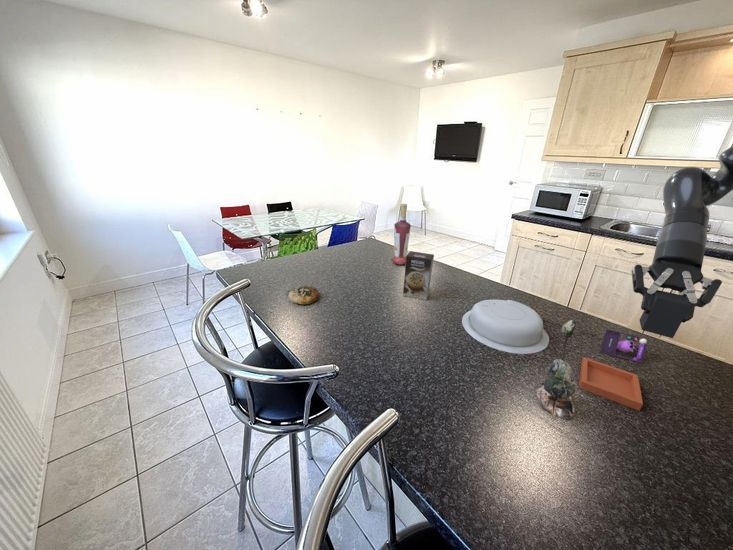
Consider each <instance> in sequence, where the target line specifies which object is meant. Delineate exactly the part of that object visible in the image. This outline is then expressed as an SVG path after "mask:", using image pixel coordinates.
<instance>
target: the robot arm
mask: <svg viewBox="0 0 733 550" xmlns="http://www.w3.org/2000/svg"><path fill="white" fill-rule="evenodd" d="M718 163H719V165H720V168H719V169H718V170H716V172H714V174H712V175H710V174H709V173H708V172H707V171H706V170H705V169H703V168H700V167H696V166H688V167H683V168H680V169H678V170H676V171H675V172H673V173H672V174H671V175H670V176H669V177H668V178H667V180H666V181H665V183H664V185H663V190H662V198H663V199H662V200H663V208H664V218H663V222H662V228H661V231H660V233H659V234H658V238H657V241H656V243H655V249H654V254H653V258H652V262H651V265H649V266H642V265H641V264H636V265H634V266H633V268H632V269H631V279H632V289H633V292H634V293H636V294H640V295H641V296H642V301H641V304H640V309H641V310H642V311H644V313H647V314H648V313H649V312H650V311H651V309H652V305H653V300H654V296H655V295H653V294H654V293H655V292H656V290H659V289H660V288H662V289H670V290H672V291H675V292H677V294H678V295H683V296H686V298H687V300H688V301H689V303H690V305H691V306H690V308H689V310H688V311H687V313H686V315H685V317H684V319H683V321H682V322H681V323H683V324H684V323H686V322H689V321H691V320H692V319H693V318H694V314H695V310H696V307H698V308H704V307H706V305H708V304H710V303H711V302H712V300H713V298H714V297H715V295H716V293H717V292H718V291H719V289H720V287H721V285H722V284H723V281H722V280H721V279H719V278H715V279H710V278H708V277H705V276H704V274H703V273H702V268H703V263H704V257H705V252H706V248H707V242H708V227H709V222H710V210H709V208H708V207H709V206H712V205H713V204H715V203H717V202H718V201H720V200H722V199H723V198H724V197H726V196H727V195H728V194H730V193H731V192H732V191H733V145H732V146H730V147H728V148H726V149H725V150H724V151H722V152H721V153H720V154H719V156H718ZM647 273H648V276H650V277H651V279H652V280H653V282H652V284H651V285H650V286H649V287H646V286H645V279H644V277H645V276H646V275H647ZM698 283H699V284H700V285H701V288H702V290H703V291H702V293H701V294H700V295H699V298H697V295H696V288H695V285H696V284H698Z"/></svg>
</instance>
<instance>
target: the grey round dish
mask: <svg viewBox="0 0 733 550" xmlns="http://www.w3.org/2000/svg"><path fill="white" fill-rule="evenodd" d="M461 325H462V327H463V329H464V330H465V332H466V333H467V334H468V335H469V336H470V337H472V338H473V339H475V340H476V341H477V342H479V343H481V344H483V345H485V346H487V347H489V348H492V349H494V350H498V351H500V352H505V353H509V354H518V355H531V354H536V353H539V352H542V351H543V350H546V349H547V347H548V345H549V343H550V337H549V334H548V333H547V331H546V330H545V329H544V321H543V319H542V317H541V316H540V315H539V313H538V312H536V311H535V310H534V309H533V308H531V307H530V306H528V305H526V304H523V303H521V302H519V301H516V300H512V299H506V300H505V299H485V300H481V301H478V302H477V303H475V304H474V305H473V306H472V308H471V309H469V310H468V311H467V312H465V313H464V314H463V316H462V318H461Z"/></svg>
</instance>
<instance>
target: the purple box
mask: <svg viewBox="0 0 733 550" xmlns="http://www.w3.org/2000/svg"><path fill="white" fill-rule="evenodd" d="M621 335H624V336H625V337H624V338H625V340H623V339H621V340H620V338H621ZM649 340H650V339H649V338H647V337H643V336H640V335H634V334H631V333H626V332H622V331H619V330H618V331H617V330H613V329H609V328H606V329H605V332H604V336H603V339H602V342H601V346H600V350H599V352H600V353H602V354H606V355H609V356H613V357H617V358H621V359H624V360H628V361H632V362H635V363H639V364H641V363H642V362H643V359H644V356H645V353H646V350H647V347H648V343H649ZM634 342H635V343H634ZM638 342H639V347H638V349H637V348H636V347H635V346H638V344H636V343H638ZM634 350H636V351H637V350H638V351H637V354H636V356H634V357H633V358H630V357H626V356H622V355H619V354H616V351H620V352H623V353H630V352H631V353H632V352H634Z"/></svg>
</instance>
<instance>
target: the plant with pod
mask: <svg viewBox="0 0 733 550" xmlns="http://www.w3.org/2000/svg"><path fill="white" fill-rule="evenodd" d="M576 324H577V323H576V320H574V319H569V320H568V321H567V322H566V323H564V324H562V326H561V334H562V336H563V337H564V344H563V350H562V356H561V358H558V359H557V358H555V359H554V360H553V361H552V363H551V364H550V367H549V369H548V371H547V375H546V379H545V381H544V382H543V383H541V384H540V385H539V387H538V388H536V390H535V392H534V394H535V396H536V399H537V401H538V402H539V406H540V407H541V408H542V409H543V410H544V411H546V412H548V413H550V414H551V415H552V417H556V416H557V417H560V419H561V418H562V419H566V420H567V419H569V420H570V419H573V417H574V413H575V412H576V411H575V410H576V408H575V406H574V405H575V404H574V403H573V402H574V400H573V399H572V396H573V395H574V394H575V392H576V391H577V388H578V385H577V381H576V377H575V374H574V372H573V369H572V366H571V365H570V364H569V362H566V361H565V360H564V357H565V352H566V345H567V343H568V340H569V339H570V338H571V337H572V336H573V335H574V331H575V328H576Z"/></svg>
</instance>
